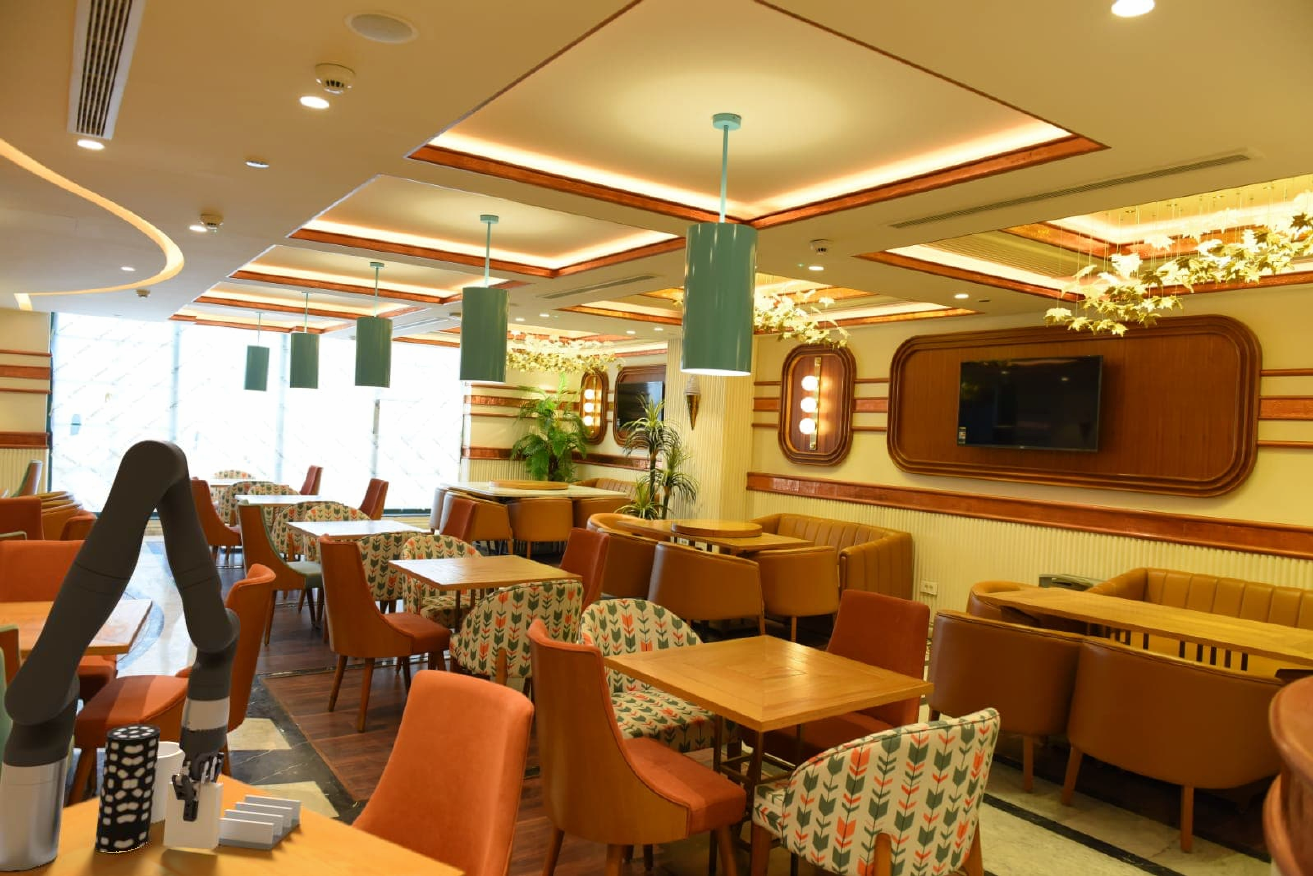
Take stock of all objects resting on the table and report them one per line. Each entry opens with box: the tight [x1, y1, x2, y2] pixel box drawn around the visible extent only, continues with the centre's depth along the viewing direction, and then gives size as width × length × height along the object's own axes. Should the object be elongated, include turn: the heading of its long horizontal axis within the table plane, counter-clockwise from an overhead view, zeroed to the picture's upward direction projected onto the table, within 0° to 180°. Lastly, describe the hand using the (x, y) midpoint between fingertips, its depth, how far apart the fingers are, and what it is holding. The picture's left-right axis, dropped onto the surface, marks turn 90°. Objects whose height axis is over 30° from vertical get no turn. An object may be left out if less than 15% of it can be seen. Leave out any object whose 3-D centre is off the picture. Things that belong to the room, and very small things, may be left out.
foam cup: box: [150, 741, 185, 825], centre depth 166 cm, size 10×9×13 cm
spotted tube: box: [94, 724, 161, 852], centre depth 155 cm, size 8×8×20 cm
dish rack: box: [218, 794, 302, 851], centre depth 163 cm, size 11×12×4 cm
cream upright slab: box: [162, 781, 224, 851], centre depth 154 cm, size 9×2×11 cm, turn 87°
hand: (193, 817), depth 154 cm, fingers closed on cream upright slab, 2 cm apart
